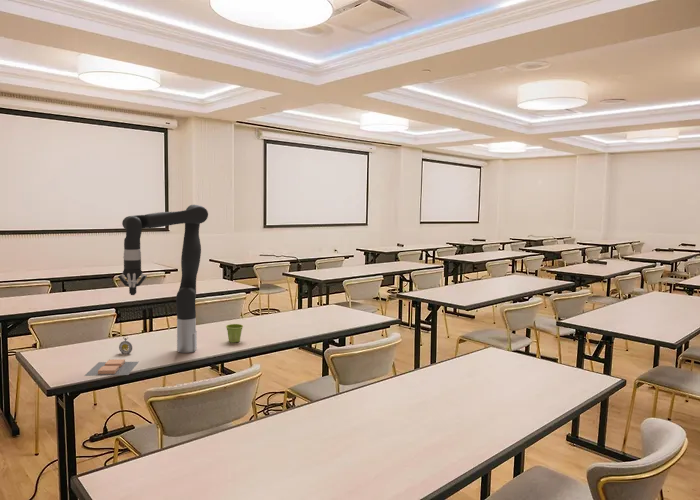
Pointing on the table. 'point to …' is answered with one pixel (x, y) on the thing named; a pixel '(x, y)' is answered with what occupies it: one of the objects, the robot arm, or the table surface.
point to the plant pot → (234, 332)
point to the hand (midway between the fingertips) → (132, 294)
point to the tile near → (108, 369)
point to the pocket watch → (125, 346)
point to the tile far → (115, 362)
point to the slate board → (123, 370)
